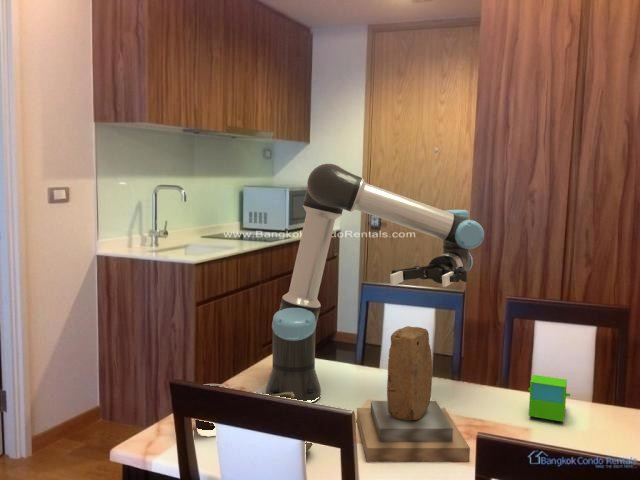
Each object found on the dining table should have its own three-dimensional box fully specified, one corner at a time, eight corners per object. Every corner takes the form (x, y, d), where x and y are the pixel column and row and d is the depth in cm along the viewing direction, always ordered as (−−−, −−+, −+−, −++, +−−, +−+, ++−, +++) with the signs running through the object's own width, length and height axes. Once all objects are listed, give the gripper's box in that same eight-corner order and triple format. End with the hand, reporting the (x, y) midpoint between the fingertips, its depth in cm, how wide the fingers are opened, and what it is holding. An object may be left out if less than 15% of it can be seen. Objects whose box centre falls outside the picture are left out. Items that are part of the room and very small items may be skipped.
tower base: (366, 461, 125) (367, 434, 125) (356, 419, 147) (357, 396, 147) (469, 461, 126) (470, 434, 126) (444, 419, 148) (445, 396, 147)
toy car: (570, 408, 157) (572, 371, 156) (567, 427, 145) (570, 387, 144) (529, 401, 161) (531, 366, 160) (524, 419, 149) (526, 381, 148)
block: (412, 425, 130) (414, 336, 128) (383, 416, 134) (385, 330, 132) (435, 410, 138) (438, 327, 136) (407, 403, 143) (409, 321, 141)
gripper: (490, 282, 158) (467, 297, 140) (403, 280, 171) (372, 294, 152) (489, 254, 157) (466, 266, 139) (402, 255, 170) (370, 265, 152)
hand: (417, 280), depth 146 cm, fingers open, 13 cm apart
